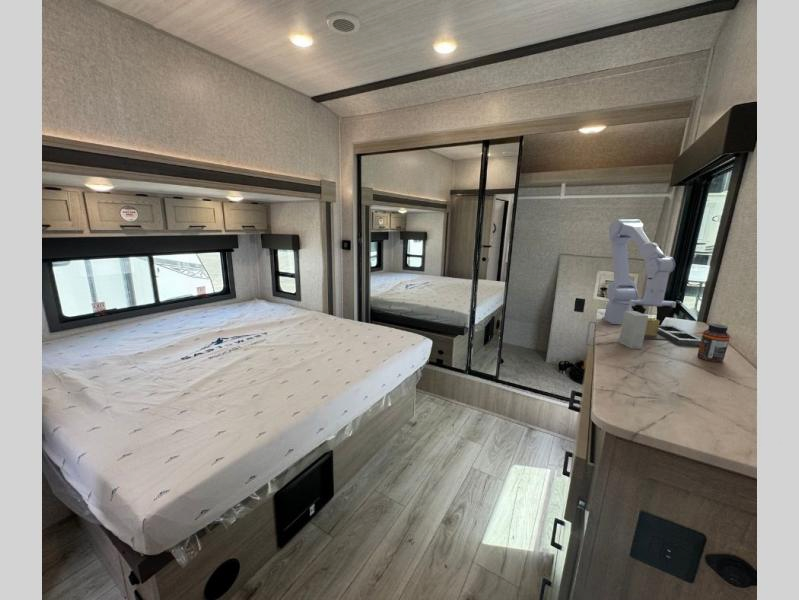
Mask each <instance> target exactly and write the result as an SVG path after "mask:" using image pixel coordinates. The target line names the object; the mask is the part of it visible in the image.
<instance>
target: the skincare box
mask: <svg viewBox="0 0 799 600" xmlns="http://www.w3.org/2000/svg"><path fill="white" fill-rule="evenodd" d="M648 317H649V315H647V314H645V313H644V314H642V313H639V312H637V311H633V310H630V311H624V316H623V322H622V324H621V328H620V334H619V338H618V343H619V344H622V345H623V346H626V348H629V349H633V350H634V349H638V350H639V349H641V350H642V349H643V344H644V341H645V339H644V335H645V330H646V325H647V320H648Z"/></svg>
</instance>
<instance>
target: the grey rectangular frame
mask: <svg viewBox="0 0 799 600" xmlns="http://www.w3.org/2000/svg"><path fill="white" fill-rule="evenodd" d="M657 334H658V335H660V336H662V337H664V338H666V339H667V341H670V342H672V343H673V344H676V345H677V346H686V347H687V346H689V347H690V346H692V347H699V346H700V342H701V339H702V338H699V337H698V336H696V335H694V334H692V333H689V332H687V331H685V330H683V329H681V328H679V327H677V326H675V325H671V324H661V326H659V328H658V332H657Z"/></svg>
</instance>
